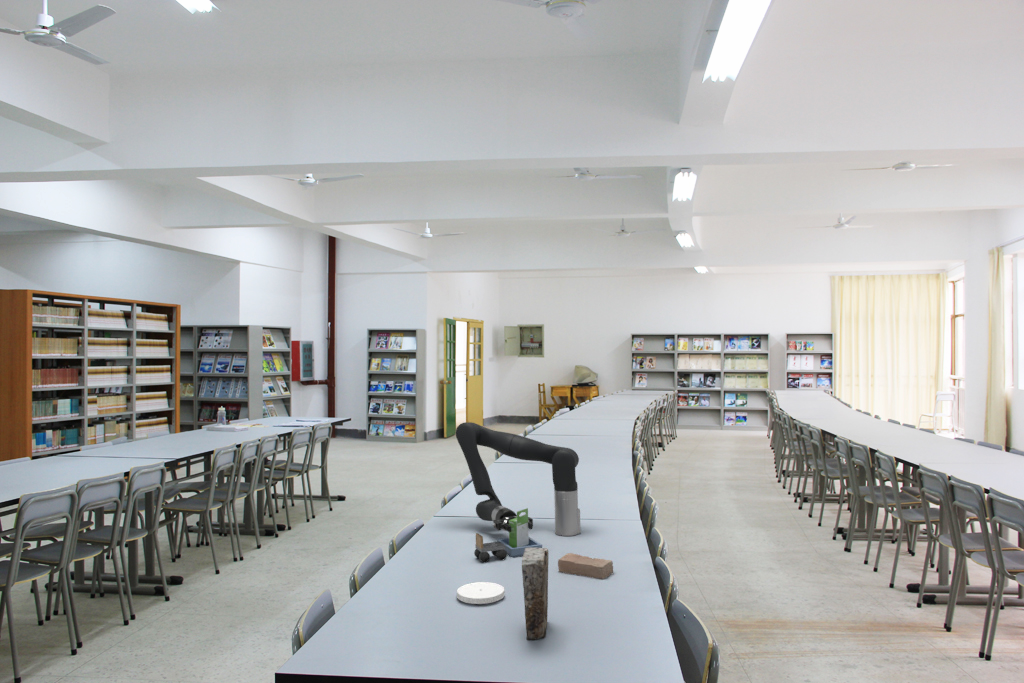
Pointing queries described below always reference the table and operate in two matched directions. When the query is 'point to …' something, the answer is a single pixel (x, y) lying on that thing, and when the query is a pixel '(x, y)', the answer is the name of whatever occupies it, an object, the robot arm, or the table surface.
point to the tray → (519, 550)
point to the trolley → (489, 549)
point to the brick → (585, 566)
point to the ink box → (519, 530)
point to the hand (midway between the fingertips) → (520, 527)
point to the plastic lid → (480, 592)
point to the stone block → (535, 591)
